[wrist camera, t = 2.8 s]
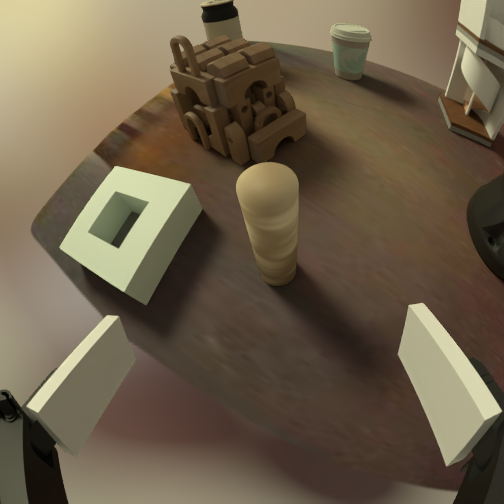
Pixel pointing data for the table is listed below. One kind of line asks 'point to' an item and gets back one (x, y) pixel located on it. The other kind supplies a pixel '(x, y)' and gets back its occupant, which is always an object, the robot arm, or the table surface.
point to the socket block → (133, 229)
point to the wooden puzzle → (234, 97)
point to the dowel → (271, 218)
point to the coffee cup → (349, 49)
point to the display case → (477, 73)
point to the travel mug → (221, 19)
